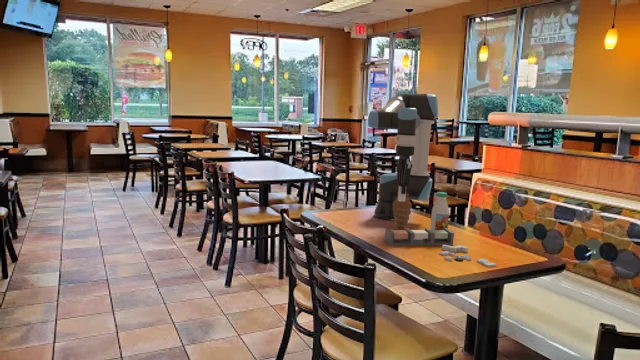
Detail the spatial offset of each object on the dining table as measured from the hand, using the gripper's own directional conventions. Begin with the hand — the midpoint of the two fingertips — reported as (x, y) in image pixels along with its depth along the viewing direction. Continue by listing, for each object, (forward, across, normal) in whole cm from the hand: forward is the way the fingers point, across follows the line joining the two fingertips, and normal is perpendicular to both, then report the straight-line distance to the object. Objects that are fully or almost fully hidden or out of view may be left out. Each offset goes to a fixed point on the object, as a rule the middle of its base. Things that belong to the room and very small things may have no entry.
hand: (401, 200), depth 198 cm
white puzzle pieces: (+19, +20, +17) cm, 32 cm away
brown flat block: (+16, 0, 0) cm, 16 cm away
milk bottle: (+19, -12, +23) cm, 32 cm away
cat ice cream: (+19, -20, +8) cm, 29 cm away
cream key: (+16, 0, +9) cm, 18 cm away
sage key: (+16, 0, +18) cm, 24 cm away
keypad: (+18, 0, +9) cm, 20 cm away
